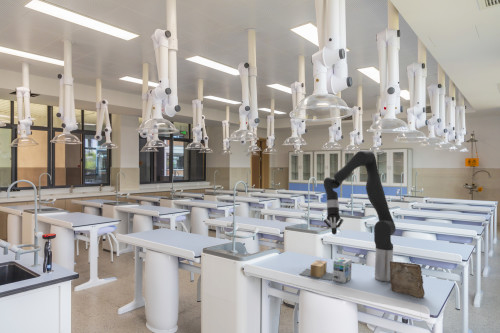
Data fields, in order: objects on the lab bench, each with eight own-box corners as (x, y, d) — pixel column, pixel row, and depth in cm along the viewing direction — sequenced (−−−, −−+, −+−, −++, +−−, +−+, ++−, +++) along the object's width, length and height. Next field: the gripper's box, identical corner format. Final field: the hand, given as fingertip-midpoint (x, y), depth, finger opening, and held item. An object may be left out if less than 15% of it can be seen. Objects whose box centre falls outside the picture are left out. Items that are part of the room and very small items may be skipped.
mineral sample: (425, 297, 159) (425, 265, 159) (422, 299, 156) (423, 267, 156) (389, 288, 170) (390, 258, 171) (386, 290, 167) (387, 260, 168)
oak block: (326, 261, 194) (321, 266, 183) (326, 271, 194) (320, 277, 183) (316, 260, 197) (310, 264, 186) (316, 270, 197) (310, 275, 186)
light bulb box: (344, 283, 175) (345, 263, 176) (332, 280, 179) (333, 260, 180) (351, 278, 184) (352, 259, 184) (340, 276, 188) (340, 257, 188)
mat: (336, 274, 191) (336, 273, 191) (330, 280, 179) (330, 280, 179) (306, 269, 199) (306, 268, 199) (299, 274, 187) (299, 274, 187)
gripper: (321, 207, 214) (322, 234, 209) (341, 205, 208) (343, 233, 203) (324, 208, 220) (325, 235, 216) (344, 207, 214) (346, 234, 209)
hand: (334, 234), depth 209 cm, fingers closed
